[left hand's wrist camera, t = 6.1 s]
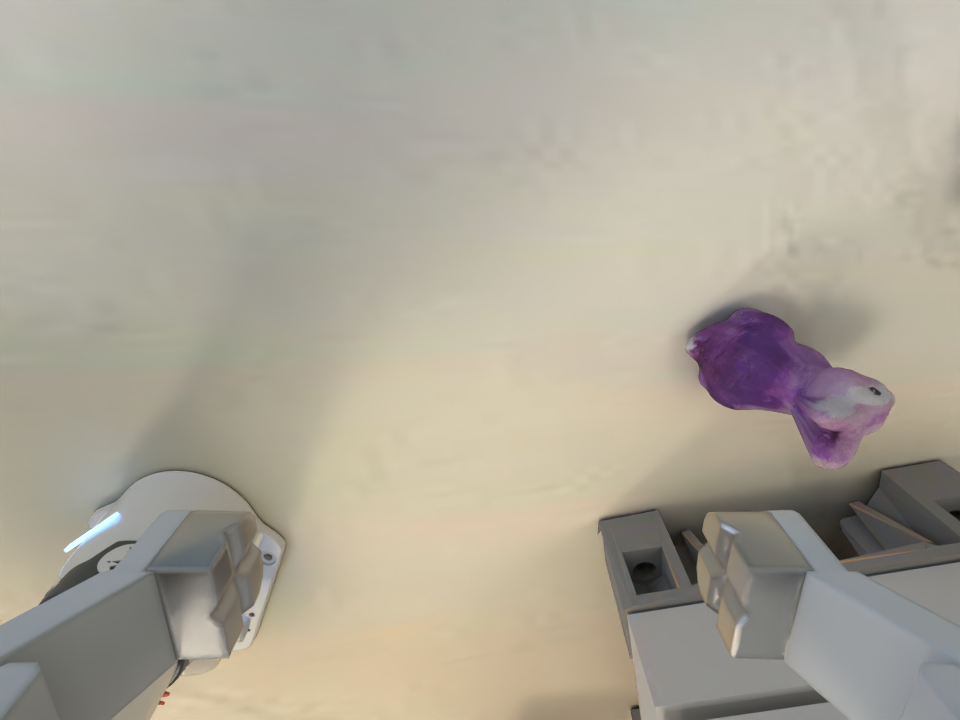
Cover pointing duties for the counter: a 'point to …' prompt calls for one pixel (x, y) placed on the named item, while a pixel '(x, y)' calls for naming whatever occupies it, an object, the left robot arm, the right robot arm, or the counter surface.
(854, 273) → the counter surface
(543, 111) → the counter surface
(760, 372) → the figurine
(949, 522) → the record crate
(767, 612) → the left robot arm
